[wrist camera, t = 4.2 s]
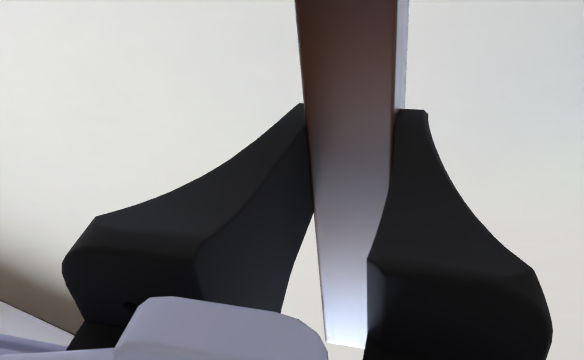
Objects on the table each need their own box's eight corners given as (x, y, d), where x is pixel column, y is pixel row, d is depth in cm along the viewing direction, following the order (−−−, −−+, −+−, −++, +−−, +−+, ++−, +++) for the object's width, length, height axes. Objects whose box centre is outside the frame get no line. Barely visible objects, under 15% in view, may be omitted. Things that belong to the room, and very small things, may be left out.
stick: (397, 280, 19) (387, 353, 17) (341, 273, 20) (324, 343, 18) (417, -196, 11) (402, -172, 8) (317, -188, 11) (278, -163, 9)
